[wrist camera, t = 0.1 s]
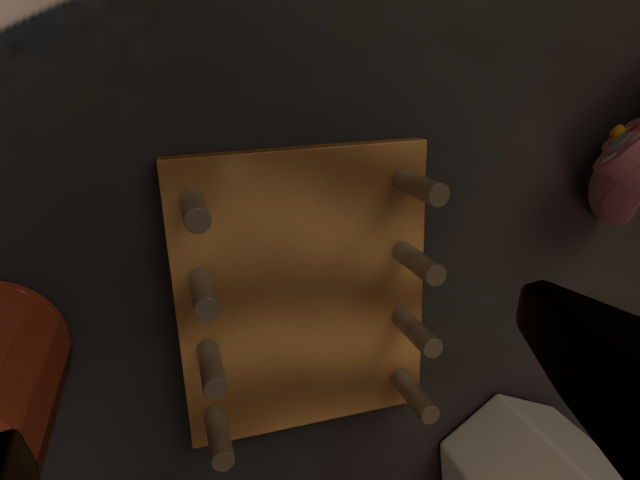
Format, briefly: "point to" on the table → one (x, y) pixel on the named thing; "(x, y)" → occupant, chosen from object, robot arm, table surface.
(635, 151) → the video game controller
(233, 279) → the dish rack
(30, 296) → the cup
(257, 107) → the table surface
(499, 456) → the jar
